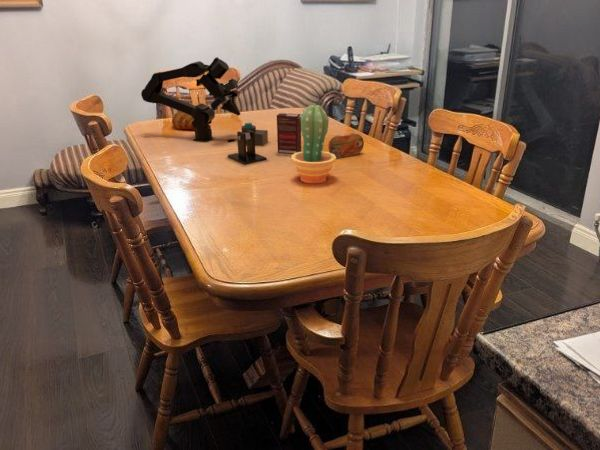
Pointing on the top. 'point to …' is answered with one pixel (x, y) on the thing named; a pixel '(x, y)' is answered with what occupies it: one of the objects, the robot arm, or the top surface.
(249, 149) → the bracket
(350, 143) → the tin
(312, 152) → the potted cactus
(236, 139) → the lever
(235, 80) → the robot arm
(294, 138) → the supplement box
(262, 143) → the control block
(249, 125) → the button
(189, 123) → the pastry
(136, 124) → the top surface
